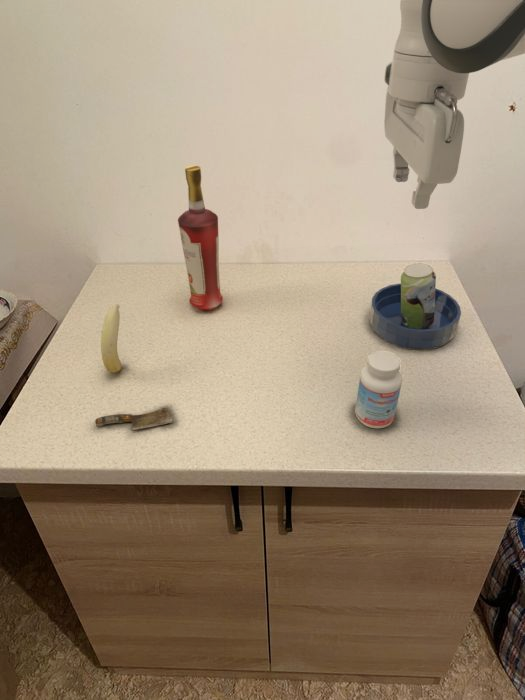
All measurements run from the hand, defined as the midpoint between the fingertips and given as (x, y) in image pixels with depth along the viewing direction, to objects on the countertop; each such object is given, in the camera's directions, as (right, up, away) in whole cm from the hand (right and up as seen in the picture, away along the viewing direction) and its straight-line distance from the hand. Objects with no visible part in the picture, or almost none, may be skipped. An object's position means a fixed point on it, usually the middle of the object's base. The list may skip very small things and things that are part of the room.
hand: (409, 192), depth 68 cm
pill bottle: (-2, -32, +10) cm, 34 cm away
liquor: (-32, -12, +36) cm, 49 cm away
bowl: (+9, -16, +29) cm, 35 cm away
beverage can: (+9, -16, +28) cm, 34 cm away
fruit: (-45, -25, +20) cm, 55 cm away
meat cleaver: (-40, -32, +10) cm, 52 cm away
